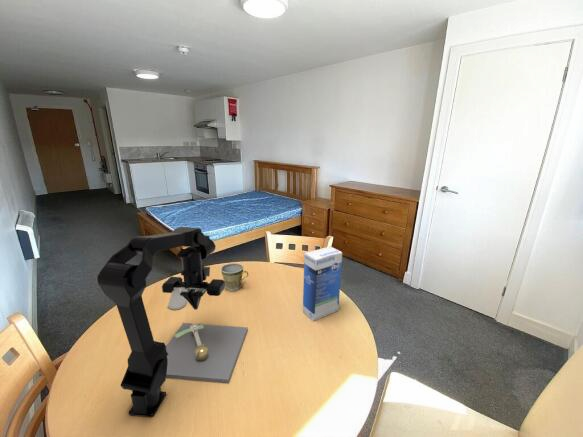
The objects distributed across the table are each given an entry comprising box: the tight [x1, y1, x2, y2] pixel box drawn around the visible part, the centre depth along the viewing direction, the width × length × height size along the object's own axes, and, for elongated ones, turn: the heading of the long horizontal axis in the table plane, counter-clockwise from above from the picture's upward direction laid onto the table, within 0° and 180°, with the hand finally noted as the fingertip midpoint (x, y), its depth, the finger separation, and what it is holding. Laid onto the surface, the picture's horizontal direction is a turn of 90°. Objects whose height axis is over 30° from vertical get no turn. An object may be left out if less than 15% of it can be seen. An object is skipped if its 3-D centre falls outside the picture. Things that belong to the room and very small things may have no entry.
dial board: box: [165, 322, 249, 384], centre depth 85 cm, size 22×24×1 cm
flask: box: [167, 287, 188, 311], centre depth 108 cm, size 7×7×10 cm
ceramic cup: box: [220, 262, 249, 292], centre depth 122 cm, size 13×10×10 cm
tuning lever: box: [190, 322, 208, 361], centre depth 85 cm, size 15×4×3 cm, turn 30°
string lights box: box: [302, 246, 343, 322], centre depth 103 cm, size 13×8×26 cm, turn 122°
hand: (196, 308), depth 87 cm, fingers closed
